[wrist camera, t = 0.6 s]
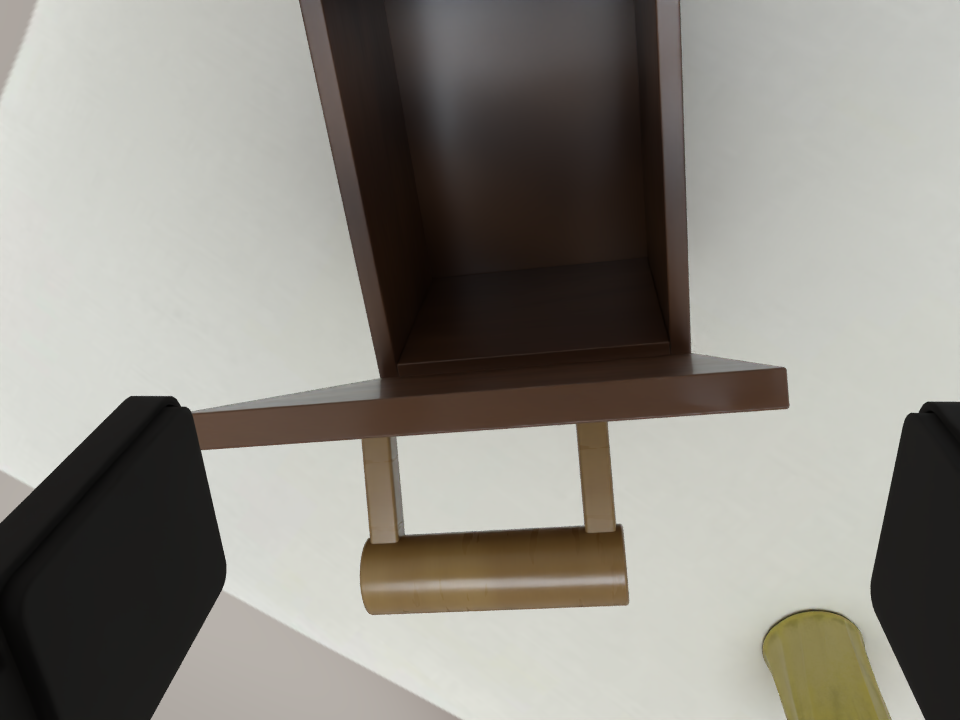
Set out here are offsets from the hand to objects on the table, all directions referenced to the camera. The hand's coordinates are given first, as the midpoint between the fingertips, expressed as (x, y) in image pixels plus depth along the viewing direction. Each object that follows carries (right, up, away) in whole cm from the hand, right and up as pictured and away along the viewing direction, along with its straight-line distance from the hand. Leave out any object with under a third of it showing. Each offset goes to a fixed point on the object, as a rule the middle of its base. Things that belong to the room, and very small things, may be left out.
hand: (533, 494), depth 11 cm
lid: (0, +1, +14) cm, 14 cm away
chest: (+1, +13, +28) cm, 31 cm away
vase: (+20, -16, +41) cm, 49 cm away
